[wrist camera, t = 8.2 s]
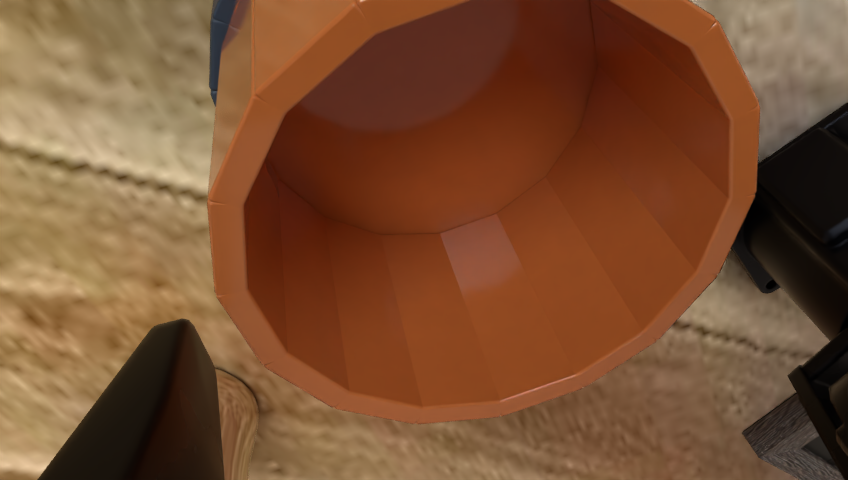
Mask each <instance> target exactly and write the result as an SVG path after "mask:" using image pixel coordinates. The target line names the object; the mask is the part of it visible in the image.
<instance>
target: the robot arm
mask: <svg viewBox="0 0 848 480" xmlns="http://www.w3.org/2000/svg"><path fill="white" fill-rule="evenodd" d="M731 248H732V250H733V251H734V253H735V254H736V256H737V257H738V259H739V260H740V262H741V263H742V265H743V267H744V268H745V270H746V271H747V273H748V274H749V276H750V277H751V279H752V280H753V282H754V283H755V285H756V286H757V287H758V288H759V289H760V291H761V292H763V293H771V292H773V291H775V290H777V289H779V288H780V287H781V288H782V289H783V290H784V291H785V292H786V293H787V295H788V296H789V297H790V298H791V299H792V300H793V301H794V302H795V303H796V304H797V305H798V306H799V308H800V309H801V310H802V311H803V312H804V313H805V314H806V315H807V316H808V317H809V318H810V320H811V321H812V322H813V323H814V324H815V325H816V326H817V327H818V328H819V329H820V330H821V331H822V333H823V334H824V335H825V336H826V337H827V338H828V339H829V340H830V342H829V343H828V344H827V345H826V346H824V347H823V348H822V349H821V350H820V351H819V352H818V353H817V354H815V355H814V356H813V357H812V358H811V359H810V360H809V361H807V362H806V363H805V364H804V365H803V366H802V365H799V366H798V367H796V368H795V369H794V370H793V371H792V372H791V373H790V374H789V375H788V378H789V380H790V381H791V383H792V385H793V387H794V388H795V390H796V392H797V394H798V396H797V397H798V399H799V401H800V403H801V404H802V406H803V408H804V410H805V411H806V413H807V415H808V417H809V418H810V420H811V422H812V424H813V425H814V427H815V429H816V431H817V432H818V434H819V436H820V438H821V439H822V441H823V443H824V445H825V446H826V448H827V450H828V452H829V453H830V455H831V457H832V459H833V460H834V462H835V464H836V466H837V468H838V469H839V471H840V473H841V475H842V476H843V478H844V480H848V103H846V104H845V105H843V106H842V107H841V108H839V109H838V110H836V111H835V112H833V113H832V114H830V115H829V116H827V117H826V118H825V119H823V120H822V121H820V122H819V123H817V124H816V125H814V126H813V127H812V128H810V129H809V130H807V131H806V132H804V133H803V134H801V135H800V136H798V137H797V138H796V139H794V140H793V141H791V142H790V143H788V144H787V145H785V146H784V147H782V148H781V149H780V150H778V151H777V152H775V153H774V154H772V155H771V156H769V157H768V158H766V159H765V160H764V161H762V162H761V163H759V164H758V169H757V192H756V193H755V198H754V200H753V202H752V205H751V207H750V209H749V211H748V213H747V215H746V217H745V220H744V222H743V224H742V226H741V228H740V230H739V232H738V234H737V237H736V239H735V241H734V243H733V245H732V247H731ZM38 480H225V478H224V464H223V451H222V438H221V426H220V413H219V400H218V388H217V377H216V372H215V368H214V365H213V363H212V360H211V358H210V356H209V354H208V352H207V351H206V349H205V347H204V345H203V343H202V341H201V339H200V337H199V335H198V333H197V331H196V329H195V327H194V325H193V324H192V323H191V322H190V321H189V320H187V319H179V320H175V321H171V322H167V323H163V324H159V325H156V326H154V327H153V328H152V329H151V330H150V331H149V332H148V334H147V335H146V336H145V338H144V339H143V340H142V342H141V343H140V344H139V346H138V347H137V348H136V350H135V351H134V352H133V354H132V355H131V356H130V358H129V359H128V360H127V362H126V363H125V364H124V366H123V367H122V368H121V370H120V371H119V372H118V374H117V375H116V376H115V378H114V379H113V380H112V381H111V383H110V384H109V385H108V387H107V388H106V389H105V391H104V392H103V393H102V395H101V396H100V397H99V399H98V400H97V401H96V403H95V404H94V405H93V407H92V408H91V409H90V411H89V412H88V413H87V415H86V416H85V417H84V419H83V420H82V421H81V423H80V424H79V425H78V427H77V428H76V429H75V431H74V432H73V433H72V435H71V436H70V437H69V439H68V440H67V441H66V443H65V444H64V445H63V447H62V448H61V449H60V450H59V452H58V453H57V454H56V456H55V457H54V458H53V460H52V461H51V462H50V464H49V465H48V466H47V468H46V469H45V470H44V472H43V473H42V474H41V476H40V477H39V478H38Z"/></svg>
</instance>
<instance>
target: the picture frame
mask: <svg viewBox="0 0 848 480" xmlns="http://www.w3.org/2000/svg"><path fill="white" fill-rule="evenodd" d="M797 396H798V394H795V395H794V396H793V397H791V398H790V399H789V400H787V401H786V402H784V403H783V404H782V405H780V406H779V407H777V408H776V409H775V410H773V411H772V412H771V413H769V414H768V415H766V416H765V417H764V418H762V419H761V420H760V421H758V422H757V423H755V424H754V425H753V426H751V427H750V428H748V429H747V430H746V431H744V432H743V433H742V434H743V435H744V437H745V438H746V440H747V441H748V442H749V444H750V445H751V447H752V448H753V450H754V451H755V453H756V454H757V456H758V457H759V458H760V459H762V460H764V461H766V462H768V463H770V464H772V465H773V466H775V467H777V468H779V469H781V470H783V471H785V472H787V473H789V474H790V475H792V476H794V477H796V478H798V479H800V480H844V478H843V476H842V475H841V473H840V471H839V469H838V468H837V466H836V464H835V462H834V460H833V459H832V457H831V455H830V453H829V452H828V450H827V448H826V446H825V445H824V443H823V441H822V439H821V438H820V436H819V434H818V432H817V431H816V429H815V427H814V425H813V424H812V422H811V420H810V418H809V417H808V415H807V413H806V411H805V410H804V408H803V406H802V404H801V403H800V401H799V399H798V397H797Z"/></svg>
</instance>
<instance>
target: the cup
mask: <svg viewBox="0 0 848 480" xmlns="http://www.w3.org/2000/svg"><path fill="white" fill-rule="evenodd" d="M759 122H760V106H759V101H758V99H757V97H756V95H755V93H754V91H753V89H752V87H751V85H750V83H749V81H748V79H747V77H746V75H745V73H744V71H743V69H742V67H741V65H740V63H739V61H738V59H737V57H736V55H735V53H734V51H733V49H732V47H731V45H730V43H729V41H728V39H727V37H726V35H725V33H724V31H723V29H722V27H721V25H720V23H719V21H717V20H716V19H715V17H714V16H713V15H711V14H710V13H708V12H707V11H705V10H704V9H702V8H701V7H699V6H698V5H696V4H695V3H693V2H692V1H690V0H236V3H235V6H234V9H233V13H232V16H231V19H230V22H229V26H228V31H227V34H226V36H225V39H224V41H223V44H222V50H221V57H220V68H219V79H218V90H217V101H216V112H215V122H214V133H213V144H212V155H211V166H210V177H209V188H208V198H207V208H208V220H209V231H210V243H211V255H212V266H213V278H214V290H215V293H216V295H217V299H218V300H219V301H220V303H221V304H222V306H223V307H224V309H225V310H226V312H227V313H228V315H229V316H230V318H231V319H232V321H233V322H234V324H235V325H236V327H237V328H238V330H239V331H240V333H241V334H242V336H243V337H244V339H245V340H246V342H247V343H248V345H249V346H250V348H251V349H252V351H253V352H254V353H255V355H256V356H257V358H258V359H259V361H260V362H261V364H262V365H264V366H265V368H267V369H268V370H270V371H272V372H273V373H275V374H277V375H278V376H280V377H282V378H283V379H285V380H287V381H288V382H290V383H292V384H293V385H295V386H297V387H299V388H300V389H302V390H304V391H305V392H307V393H309V394H310V395H312V396H314V397H315V398H317V399H319V400H320V401H322V402H324V403H325V404H327V405H329V406H330V407H335V408H336V409H338V410H344V411H349V412H354V413H359V414H364V415H369V416H374V417H380V418H385V419H390V420H395V421H400V422H405V423H410V424H415V423H417V424H427V423H438V422H450V421H461V420H473V419H484V418H495V417H500V415H501V416H505V415H508V414H511V413H514V412H517V411H520V410H523V409H526V408H528V407H531V406H534V405H537V404H540V403H543V402H546V401H549V400H552V399H554V398H557V397H560V396H563V395H566V394H569V393H572V392H575V391H578V390H580V389H582V387H586V386H588V385H590V384H591V383H593V382H594V381H596V380H597V379H599V378H600V377H602V376H604V375H605V374H607V373H608V372H610V371H611V370H613V369H615V368H616V367H618V366H619V365H621V364H622V363H624V362H625V361H627V360H629V359H630V358H632V357H633V356H635V355H636V354H638V353H639V352H641V351H643V350H644V349H646V348H647V347H649V346H650V345H652V344H654V343H655V342H656V340H658V339H660V338H661V337H662V336H663V335H664V334H665V332H666V331H667V330H668V329H669V328H670V327H671V326H672V325H673V324H674V323H675V322H676V321H677V319H678V318H679V317H680V316H681V315H682V314H683V313H684V312H685V311H686V310H687V309H688V308H689V306H690V305H691V304H692V303H693V302H694V301H695V300H696V299H697V298H698V297H699V296H700V295H701V293H702V292H703V291H704V290H705V289H706V288H707V287H708V286H709V285H710V284H711V283H712V282H713V280H714V279H715V278H716V277H717V274H719V273H720V271H721V269H722V266H723V264H724V262H725V260H726V258H727V256H728V254H729V251H730V249H731V247H732V245H733V243H734V241H735V239H736V237H737V234H738V232H739V230H740V228H741V226H742V224H743V222H744V220H745V217H746V215H747V213H748V211H749V209H750V207H751V205H752V202H753V200H754V198H755V193H756V192H757V169H758V146H759Z"/></svg>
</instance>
